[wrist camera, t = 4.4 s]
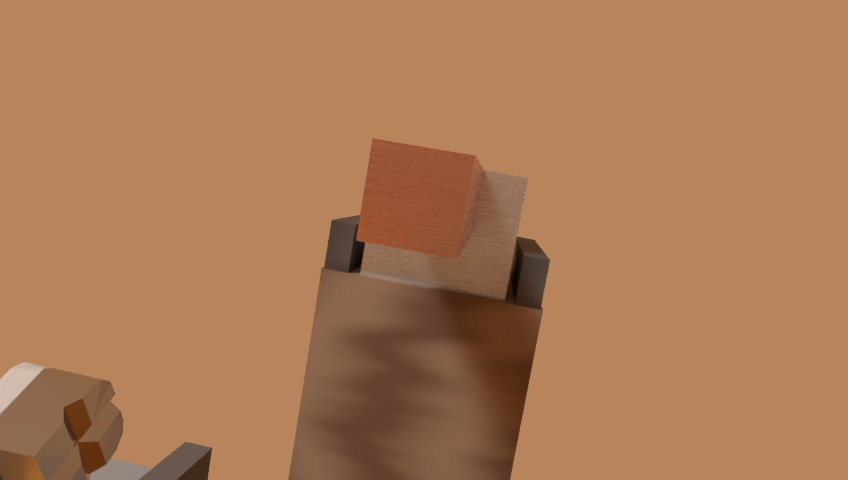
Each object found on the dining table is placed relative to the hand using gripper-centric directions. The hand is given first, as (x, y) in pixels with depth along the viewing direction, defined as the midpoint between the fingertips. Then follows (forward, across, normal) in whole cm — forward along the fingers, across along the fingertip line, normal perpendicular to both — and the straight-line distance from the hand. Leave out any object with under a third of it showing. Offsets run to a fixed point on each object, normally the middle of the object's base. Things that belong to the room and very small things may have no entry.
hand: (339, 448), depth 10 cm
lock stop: (+12, 0, +6) cm, 13 cm away
